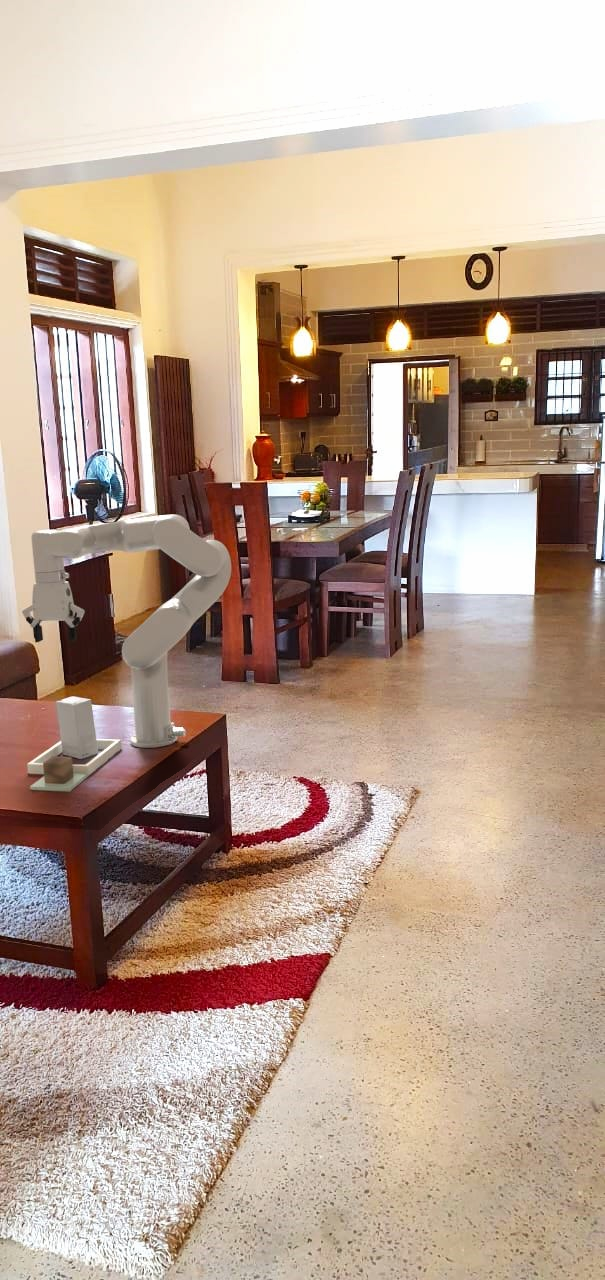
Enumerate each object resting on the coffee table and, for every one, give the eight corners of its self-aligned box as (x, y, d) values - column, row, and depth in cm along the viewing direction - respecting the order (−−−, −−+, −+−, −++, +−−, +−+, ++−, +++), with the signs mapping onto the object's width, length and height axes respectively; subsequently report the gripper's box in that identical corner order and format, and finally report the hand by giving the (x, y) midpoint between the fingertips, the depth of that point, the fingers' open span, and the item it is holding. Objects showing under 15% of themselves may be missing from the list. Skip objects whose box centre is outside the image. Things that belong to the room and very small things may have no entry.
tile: (87, 776, 233) (87, 773, 232) (69, 791, 223) (69, 788, 223) (49, 775, 235) (49, 772, 235) (30, 789, 225) (29, 786, 225)
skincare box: (98, 754, 249) (94, 699, 246) (79, 760, 245) (74, 704, 242) (79, 748, 255) (74, 694, 252) (60, 754, 250) (55, 699, 247)
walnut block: (73, 776, 231) (71, 756, 230) (64, 784, 226) (62, 763, 225) (54, 775, 232) (52, 756, 231) (44, 783, 227) (42, 763, 226)
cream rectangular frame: (121, 748, 253) (120, 739, 253) (88, 775, 233) (87, 766, 233) (65, 746, 257) (64, 738, 256) (28, 773, 236) (27, 764, 236)
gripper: (86, 575, 252) (92, 638, 256) (26, 575, 256) (32, 638, 259) (74, 579, 245) (80, 644, 249) (12, 579, 249) (19, 644, 252)
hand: (55, 641), depth 254 cm, fingers open, 9 cm apart
